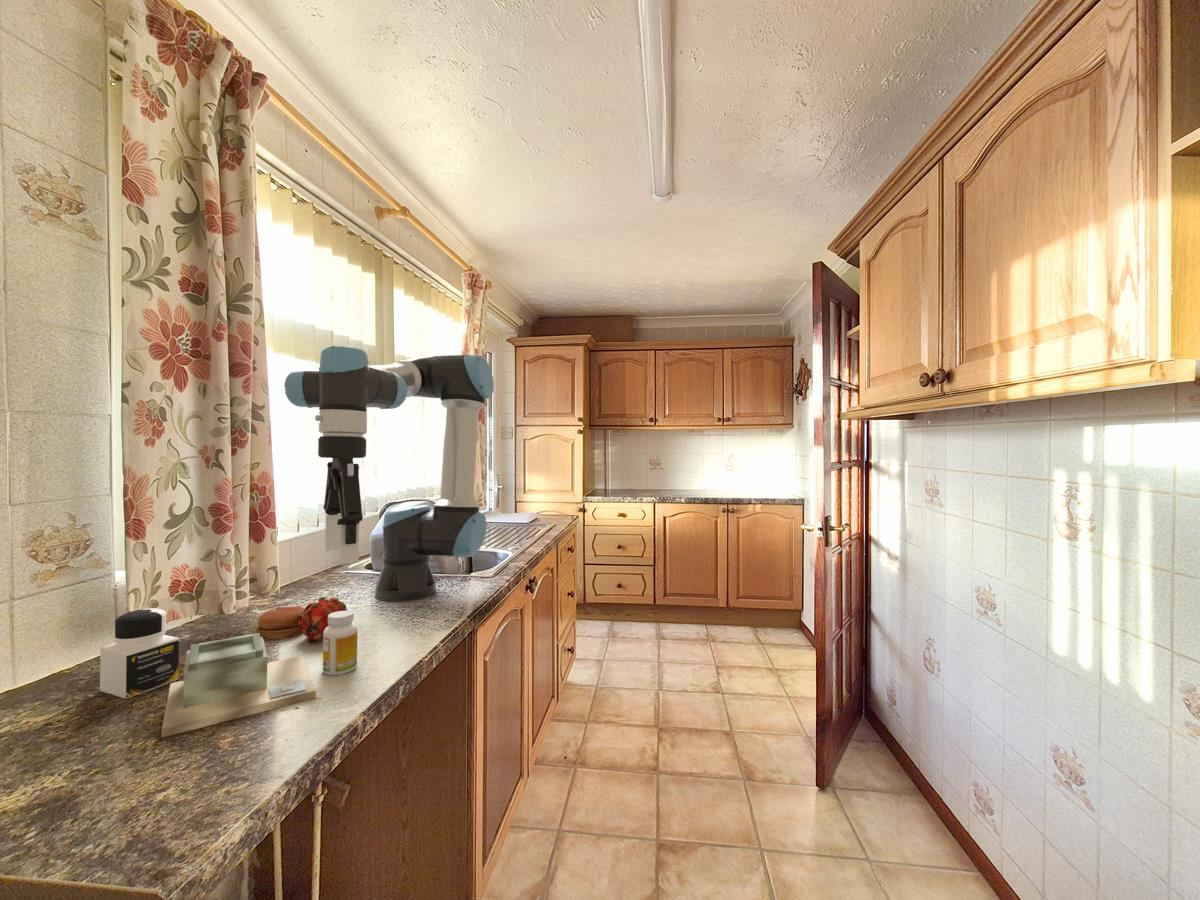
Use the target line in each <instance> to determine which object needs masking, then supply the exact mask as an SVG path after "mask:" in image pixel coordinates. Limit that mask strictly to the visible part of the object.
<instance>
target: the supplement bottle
mask: <svg viewBox="0 0 1200 900" xmlns="http://www.w3.org/2000/svg"><path fill="white" fill-rule="evenodd" d="M353 621H354V612H353V611H351V610H347V611H338V612H334V613H331V614H329V615H328V624H329V626H328V627H326V628H325V630H324V632H323V637H322V638H323V639H322V671H323V674H325V675H328V676H336V675H337V676H338V675H343V674H347V673H350V672H352V671H354V669H356V667H357V666H358V626H357V625H356V624H355V623H354V622H353Z"/></svg>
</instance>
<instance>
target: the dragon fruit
mask: <svg viewBox="0 0 1200 900" xmlns="http://www.w3.org/2000/svg"><path fill="white" fill-rule="evenodd" d="M304 608H305V610H304V611H303V613H302V614H301V616H300V617H299V627H300V628H299V630H300V631H302V633H301V634H303V635H304V636H305V637H307V641H308V643H309V644H311V643H313V642H318V641H320V640H323V632H324V630H325V628H326V627H328V626H329V624H328V615H329V614H331V613H334V612H338V611H348V609H347V605H346V603H344V602H343V601H341V600H339V598H337V597H335V596H334V597H330V598H329V599H326V598H325V597H324V596H323V597H319V598H318V601H317V602H312V603H309V604H308V605H307V606H306V607H304Z"/></svg>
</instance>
